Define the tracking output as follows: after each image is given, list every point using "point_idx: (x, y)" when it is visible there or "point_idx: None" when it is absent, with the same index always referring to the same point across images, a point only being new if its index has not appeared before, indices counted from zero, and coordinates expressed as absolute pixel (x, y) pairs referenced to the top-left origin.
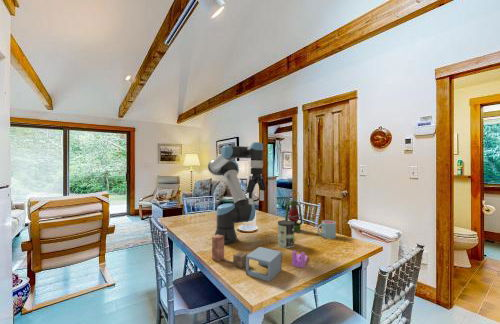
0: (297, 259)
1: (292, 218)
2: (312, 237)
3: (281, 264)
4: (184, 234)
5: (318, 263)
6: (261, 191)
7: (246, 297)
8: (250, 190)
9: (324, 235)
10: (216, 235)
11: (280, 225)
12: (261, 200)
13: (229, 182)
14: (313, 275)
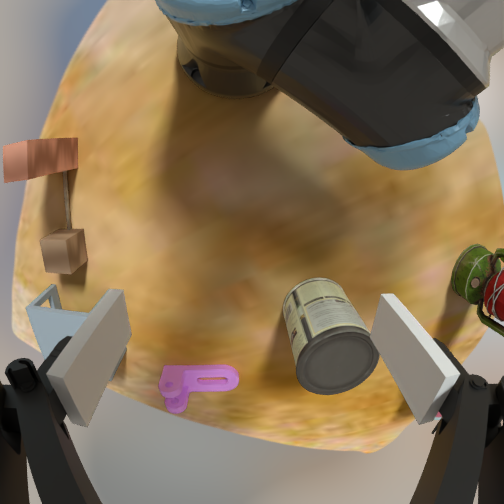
0: (193, 376)
1: (489, 297)
2: None
3: (122, 357)
4: None
5: (217, 406)
6: (425, 392)
7: (13, 318)
8: (8, 435)
9: None
10: (17, 147)
11: (301, 350)
12: (376, 318)
13: None
14: (152, 404)
